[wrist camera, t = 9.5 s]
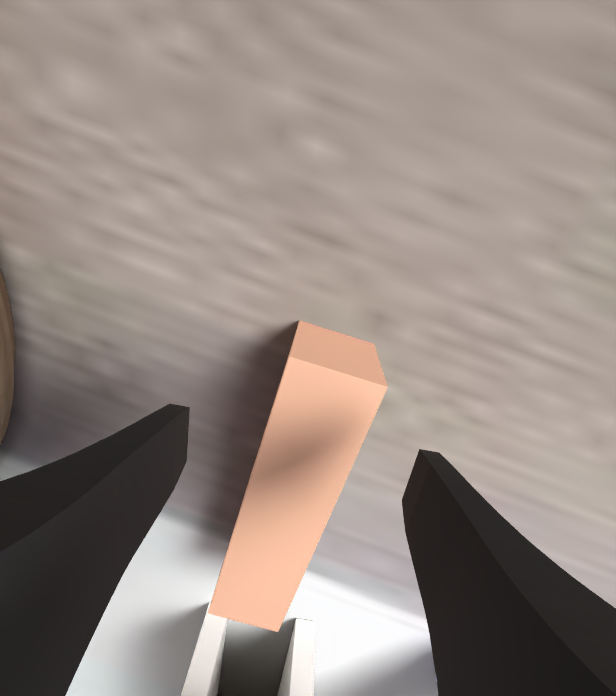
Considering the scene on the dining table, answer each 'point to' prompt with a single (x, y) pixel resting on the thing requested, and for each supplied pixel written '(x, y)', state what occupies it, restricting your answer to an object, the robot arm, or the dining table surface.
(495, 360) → the dining table surface
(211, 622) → the dispenser
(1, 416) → the plant saucer
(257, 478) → the orange long block
